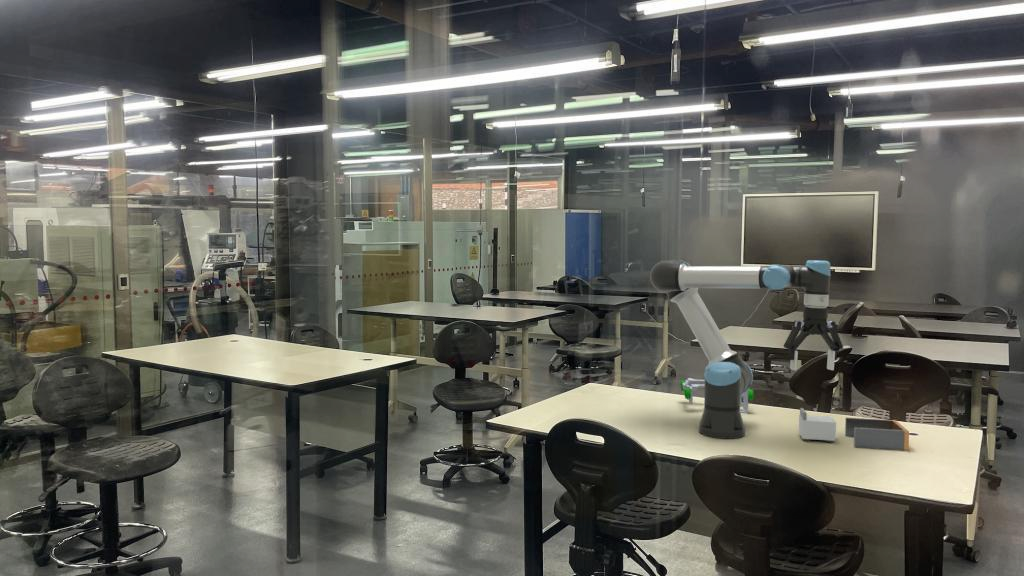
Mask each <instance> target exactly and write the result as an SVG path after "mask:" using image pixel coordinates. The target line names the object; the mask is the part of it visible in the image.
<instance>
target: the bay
mask: <svg viewBox="0 0 1024 576" xmlns="http://www.w3.org/2000/svg"><path fill="white" fill-rule="evenodd" d="M844 424H845V427H844V428H845V429H844V430H845V431H844V435H845V437H853V447H854V448H861V447H862V449H863V447H864V449H876V448H880V449H879V450H894V451H907V452H908V451H909V450H910V449H909V447H910V446H909V445H910V431H909V430H908V429H907V428H905V426H903V425H902V424H901V423H900V422H898V421H897V420H896V419H883V418H882V419H880V418H879V419H878V418H865V417H864V418H863V417H862V418H861V417H845V423H844ZM866 447H867V448H866Z"/></svg>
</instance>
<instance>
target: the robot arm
mask: <svg viewBox="0 0 1024 576" xmlns="http://www.w3.org/2000/svg"><path fill="white" fill-rule="evenodd" d="M831 276H832V274H831V263H830V261H828V260H813V259H812V260H810V259H809V260H807V261H806V264H805V265H791V264H770V265H712V266H711V265H709V266H708V265H706V266H705V265H704V266H703V265H700V266H697V265H693V266H692V265H690V264H689V263H688V262H686V261H683V260H681V259H671V260H662V261H659V262H657V263H655V265H653V267H652V268H651V271H650V273H649V279H650V283H651V285H652V286H653V287H654V289H656V290H657V291H659V292H661V293H665V294H666V296H667V297H668V300H669V301H670V302H671V303H675V304H676V305H677V306H678V308H679V311H680V312H681V313H682V315H683V317H684V319H685V321H686V322H687V324H688V326H689V329H690V330H691V332H692V333H693V335H694V337H695V338H696V340H697V342H698V344H699V346H700V347H701V349H702V351H703V353H704V354H705V356H706V358H707V360H708V365H706V366H705V368H704V373H703V375H704V380H705V388H704V401H703V402H704V404H703V405H704V408H703V409H704V410H703V412H702V415H701V418H700V420H699V424H698V432H699V433H700V434H701V433H702V434H701V435H703V434H704V436H706V437H711V438H715V439H716V438H717V439H740V438H742V437H744V436H745V435H746V426H745V423H744V420H743V418H742V414H741V413H740V409H741V406H740V394H742V393H744V392H746V391H747V390H748V389H749V387H751V386H752V383H753V380H754V375H753V370H752V369H751V367H750V365H749V364H748V363H746V362H745V361H743V360H742V358H741V357H740V355H739V353H738V352H737V351H734V350H732V349H731V348H730V346H729V344H728V343H727V341H726V338H724V336H723V334H722V332H721V330H720V329H719V327H718V325H717V323H716V322H715V319H714V318H713V317H712V314H711V313H710V312H709V309H708V308H707V306H706V304H705V302H704V300H703V299H702V298H701V296H700V293H699V292H698V291H699V289H747V290H748V289H755V290H756V289H757V290H759V289H760V290H761V289H764V290H772V291H773V290H774V291H777V290H783V289H786V288H793V289H794V288H796V289H798V288H799V289H804V296H803V305H804V307H803V312H802V317H803V321H801V320H794V321H793V327H792V329H791V330H790V333H789V334H788V336H787V338H786V340H785V342H784V344H783V347H784V349H787V350H788V360H790V364H789V369H790V370H792V371H797V369H798V355H799V354H798V353H799V352H798V350H797V349H798V348H799V347H800V345H801V344H802V343H803V342H804V341H805V340H806V338H808V337H809V336H810V335H812V336H815V335H817V336H821V338H822V339H823V340H824V342H825V343H826V345H827V346H828V347H829V349H828V350H827V362H826V369H827V370H829V371H834V370H835V361H837V358H838V357H837V356H838V352H840V350H842V349H844V346H843V343H842V341H841V338H840V336H839V335H840V334H839V333H838V329H837V324H836V322H835V321H832V320H828V316H829V308H827V307H828V306H829V300H830V288H831V287H830V286H831V284H830V283H831ZM827 320H828V321H827ZM802 327H803V328H802ZM826 329H828V331H827V330H826ZM829 333H830V335H829Z"/></svg>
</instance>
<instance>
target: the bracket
mask: <svg viewBox="0 0 1024 576" xmlns="http://www.w3.org/2000/svg"><path fill="white" fill-rule="evenodd" d="M697 383H698V384H697ZM750 387H751V386H750ZM750 387H749V389H748V390H747V391H746V392H744V393H742V394H740V405H741V406H742V408H740V413H747V414H749V401H754V390H753V389H750ZM700 388H702V389H703V388H704V389H705V379H695V378H693V377H688V378H687V379H685V380H681V381H680V391H681V392H684V398H685V399H686V400H687V401H688V402H689V404H690V405H693V404H694V403H693V402H694V401H693V399H694V395H693V394H695V392H696V391H697V390H698V389H700ZM742 399H743V400H742ZM742 403H743V405H742Z"/></svg>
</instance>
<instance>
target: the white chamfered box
mask: <svg viewBox="0 0 1024 576" xmlns="http://www.w3.org/2000/svg"><path fill="white" fill-rule="evenodd" d="M798 433H799V435H800V437H801V439H802V441H804V442H811V440H819V441H825V442H826V443H832V444H833V443H835V441H836V440H837V439H836V438H837V422H836V421H835V419H834V418H833V417H832V416H831V415H829V416H828V415H827V416H826V415H808V414H807V412H806V409H804V408H803V407H800V408H799V415H798Z"/></svg>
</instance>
